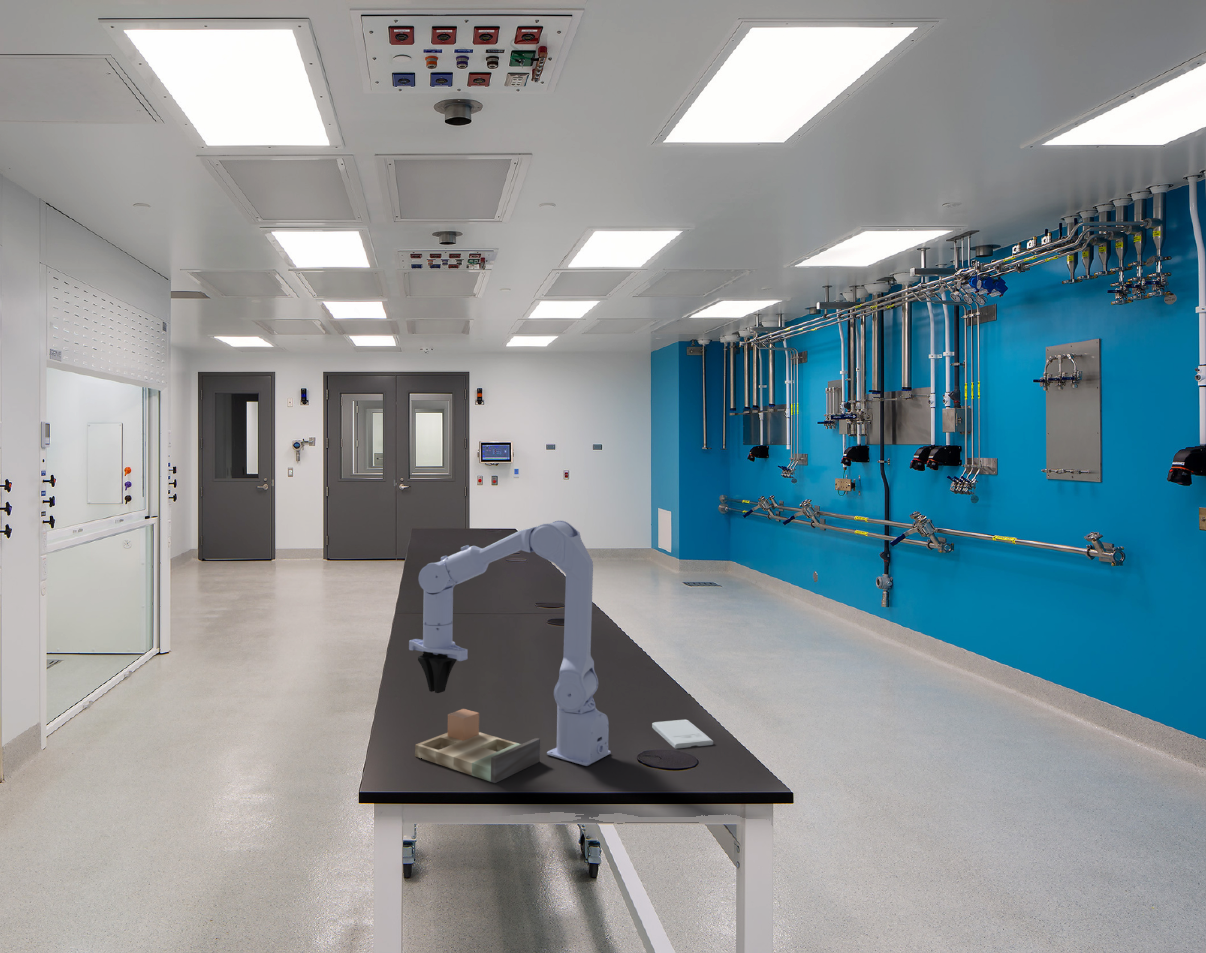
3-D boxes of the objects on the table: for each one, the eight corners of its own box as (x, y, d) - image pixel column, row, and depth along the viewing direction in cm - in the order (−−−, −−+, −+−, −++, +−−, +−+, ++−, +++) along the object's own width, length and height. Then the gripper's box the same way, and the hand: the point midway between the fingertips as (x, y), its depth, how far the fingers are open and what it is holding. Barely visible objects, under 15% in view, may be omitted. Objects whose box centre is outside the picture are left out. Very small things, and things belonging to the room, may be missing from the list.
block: (478, 734, 150) (479, 713, 149) (463, 740, 146) (463, 718, 146) (463, 730, 152) (463, 708, 152) (447, 736, 148) (447, 714, 148)
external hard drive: (687, 726, 164) (713, 747, 152) (651, 730, 162) (674, 751, 150) (688, 719, 164) (713, 739, 152) (651, 722, 162) (675, 743, 150)
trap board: (539, 761, 142) (540, 739, 142) (495, 783, 132) (495, 759, 132) (461, 738, 154) (461, 717, 154) (415, 756, 144) (415, 734, 144)
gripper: (479, 624, 152) (478, 693, 152) (427, 615, 160) (427, 680, 160) (452, 630, 146) (451, 701, 146) (401, 620, 154) (400, 688, 155)
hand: (437, 691), depth 153 cm, fingers closed
